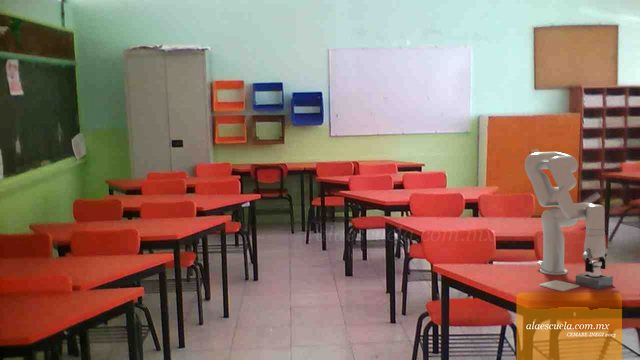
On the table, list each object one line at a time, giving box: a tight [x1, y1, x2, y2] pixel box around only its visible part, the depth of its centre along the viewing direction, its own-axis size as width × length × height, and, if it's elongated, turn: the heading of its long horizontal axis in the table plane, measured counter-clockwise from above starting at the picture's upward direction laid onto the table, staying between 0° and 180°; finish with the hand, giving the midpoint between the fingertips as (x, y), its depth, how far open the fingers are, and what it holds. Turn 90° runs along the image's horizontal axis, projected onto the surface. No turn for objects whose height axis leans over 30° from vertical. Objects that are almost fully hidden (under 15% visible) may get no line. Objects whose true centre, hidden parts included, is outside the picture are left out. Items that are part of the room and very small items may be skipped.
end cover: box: [588, 259, 602, 279], centre depth 267 cm, size 6×6×10 cm
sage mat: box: [538, 279, 580, 292], centre depth 267 cm, size 12×12×1 cm
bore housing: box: [575, 272, 614, 290], centre depth 268 cm, size 11×11×4 cm
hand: (595, 270), depth 267 cm, fingers open, 9 cm apart
